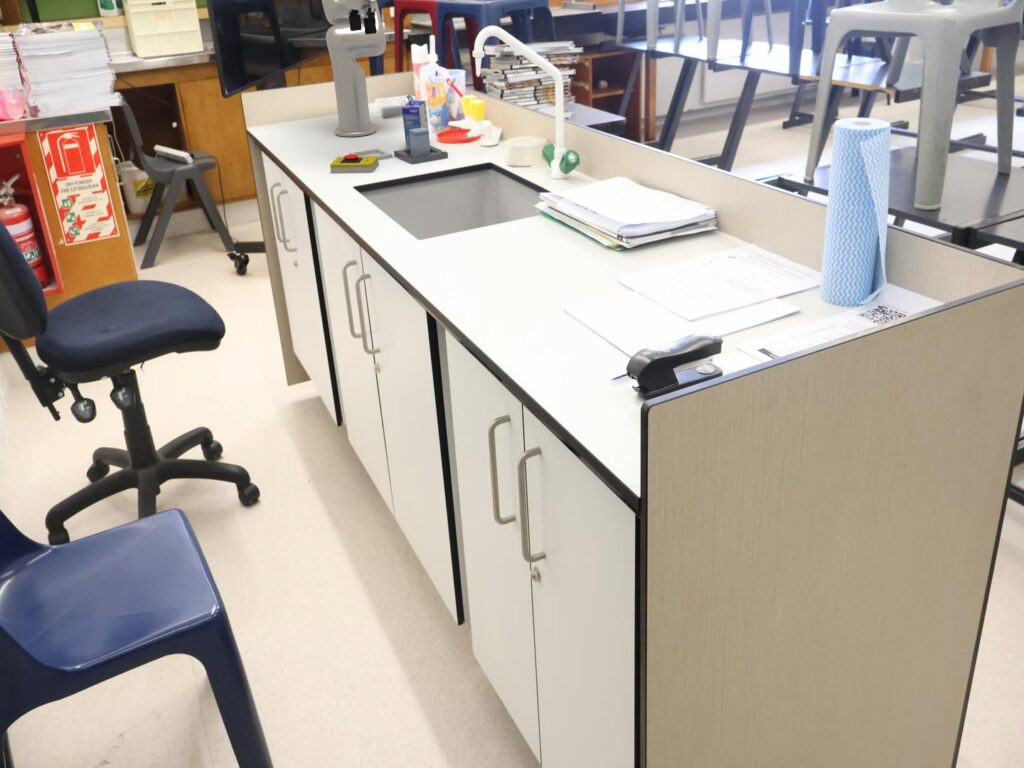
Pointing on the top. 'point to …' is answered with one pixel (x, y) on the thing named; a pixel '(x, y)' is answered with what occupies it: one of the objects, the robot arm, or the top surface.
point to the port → (407, 157)
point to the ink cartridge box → (414, 117)
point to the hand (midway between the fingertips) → (363, 32)
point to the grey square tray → (374, 153)
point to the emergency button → (354, 164)
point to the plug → (419, 141)
